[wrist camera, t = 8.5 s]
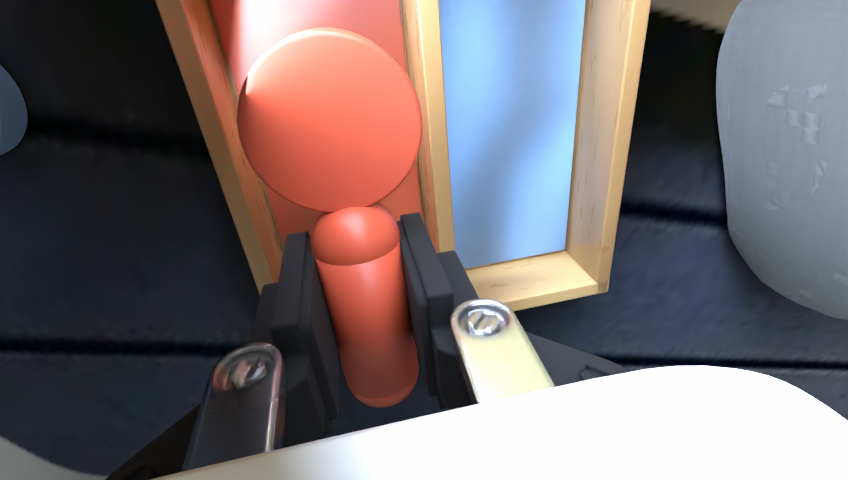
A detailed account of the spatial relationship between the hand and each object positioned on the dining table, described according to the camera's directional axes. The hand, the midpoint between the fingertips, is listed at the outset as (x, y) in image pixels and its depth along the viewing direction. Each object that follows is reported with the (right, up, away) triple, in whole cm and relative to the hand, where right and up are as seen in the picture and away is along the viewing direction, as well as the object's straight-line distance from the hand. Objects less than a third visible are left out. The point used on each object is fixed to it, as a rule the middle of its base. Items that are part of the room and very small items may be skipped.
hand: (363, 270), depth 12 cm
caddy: (+2, +5, +4) cm, 7 cm away
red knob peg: (0, +1, 0) cm, 1 cm away
